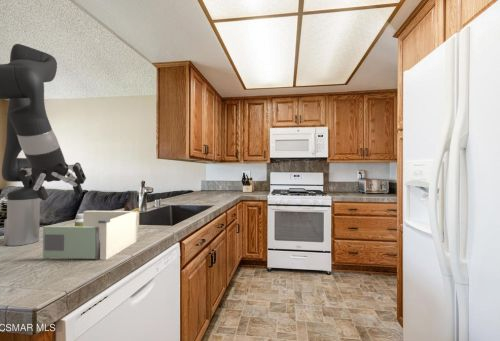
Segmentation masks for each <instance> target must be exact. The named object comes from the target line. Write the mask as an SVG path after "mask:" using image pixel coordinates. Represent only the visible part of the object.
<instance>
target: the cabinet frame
mask: <svg viewBox="0 0 500 341" xmlns="http://www.w3.org/2000/svg"><path fill="white" fill-rule="evenodd" d="M83 227H99V242H100V243H99V260H103V261H105V260H106V261H107V260H109V259H110V258H111V257H113V256H115V255H117V254H118V253H120V252H122V251H123V250H124V249H127V248H128V247H130V246H131V245H132V244H135V243H137V242H138V241H139V231H138V211H124V210H84V211H83Z"/></svg>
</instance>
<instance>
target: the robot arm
mask: <svg viewBox="0 0 500 341" xmlns="http://www.w3.org/2000/svg"><path fill="white" fill-rule="evenodd" d="M57 69H58V62H57V59H56V58H55V57H54V56H53V55H52V54H49V53H47V52H46V51H45V52H44V51H41V50H39V49H36V48H34V47H33V48H32V47H30V46H27V45H25V44H21V43H14V44H13V45H12V48H11V50H10V56H9V62H8V63H4V64H3V63H2V64H1V63H0V100H1V99H2V100H8V107H7V113H6V114H7V115H6V130H5V132H6V133H5V134H6V135H5V136H6V138H5V148H4V153H3V154H4V155H3V158H2V159H3V160H2V165H1V177H2V179H3V180H4V181H5V182H12V183H14V182H15V183H19V182H21V183H22V185H23V187H21V188H18V189H15V190H12V191H11V190H10V191H9V192H7V195H6V196H7V198H6V219H4V222H3V223H4V225H3V226H4V227H3V228H4V229H3V230H4V231H3V234H4V236H3V244H4V245H7V246H11V247H13V246H23V245H24V246H26V245H30V244H34V243H37V242H38V241H40V212H41V211H40V208H41V207H40V206H41V205H40V203H41V202H40V201H41V200H42V201H46V200H47V199H48V198H49V195H48V192H47V189H46V188H45V186H44V185H43V184H44V183H45V182H47V183H51V182H61V181H63V182H64V183H66V184H67V183H68V184H69V185H71V186H72V189H73V192H74V193H75V197H80V196H81V195H82V193H83V188H82V185H83V184H84V183H85V181H86V179H87V177H86V175H85V172H84V171H83V168H82V166H81V165H82V164H81V163H80V162H75V164H74V163H73V164H68V163H67V162H66V159H65V156H64V154H63V152H62V148H61V146H60V143H59V141H58V138H57V136H56V134H55V132H54V131H53V128H52V126H51V122H50V120H49V118H48V114H47V111H46V106H45V85H44V83H49V82H53V81H54V79H55V78H56V74H57ZM22 151H23V154H24V156H25V157H18V156H19V155H20V153H21V152H22ZM69 170H70V171H71V172H70V171H69ZM73 173H74V174H73ZM74 175H75V176H74Z"/></svg>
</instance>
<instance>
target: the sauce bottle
mask: <svg viewBox="0 0 500 341" xmlns="http://www.w3.org/2000/svg"><path fill="white" fill-rule="evenodd" d="M126 191H127V200H126V203H125V204H124V207H123V209H124V210H123V211H138V232H140V205H139V203H138V202H139V201H138V198H137V197H138V190H137V189H135V190H134V189H133V190H130V189H129V190H126Z"/></svg>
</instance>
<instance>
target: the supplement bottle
mask: <svg viewBox="0 0 500 341" xmlns="http://www.w3.org/2000/svg"><path fill="white" fill-rule="evenodd" d="M74 226H77V227H83V213H77V214H76V219H75V220H74Z"/></svg>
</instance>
